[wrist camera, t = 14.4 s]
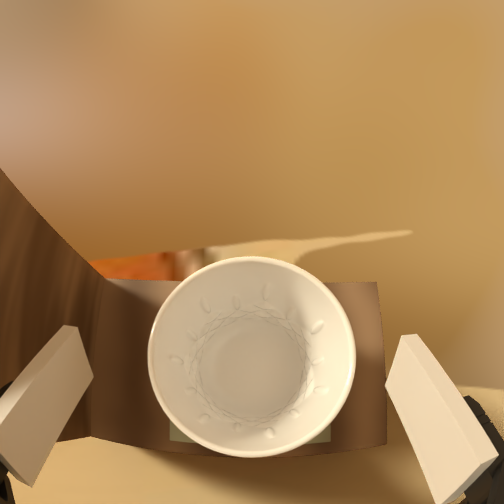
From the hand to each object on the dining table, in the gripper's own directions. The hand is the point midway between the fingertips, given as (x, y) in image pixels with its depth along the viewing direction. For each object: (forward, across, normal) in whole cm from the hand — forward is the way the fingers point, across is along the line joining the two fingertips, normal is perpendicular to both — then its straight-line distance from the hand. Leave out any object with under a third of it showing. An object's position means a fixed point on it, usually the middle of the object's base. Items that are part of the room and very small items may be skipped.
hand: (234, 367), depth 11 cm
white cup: (+7, +1, -6) cm, 10 cm away
